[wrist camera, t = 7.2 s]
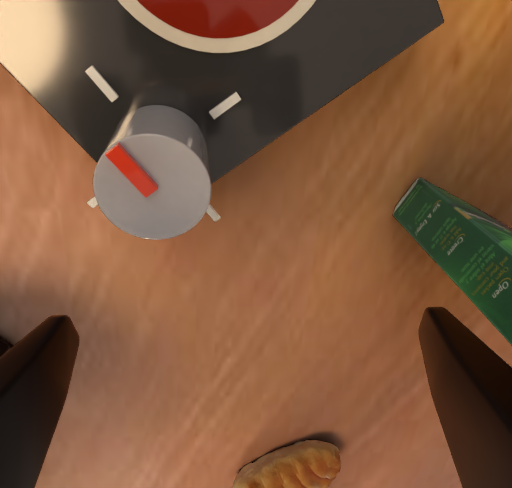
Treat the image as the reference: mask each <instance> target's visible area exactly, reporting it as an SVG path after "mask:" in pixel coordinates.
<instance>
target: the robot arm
mask: <svg viewBox="0 0 512 488" xmlns="http://www.w3.org/2000/svg"><path fill="white" fill-rule="evenodd" d="M419 340H420V345H421V349H422V354H423V358H424V363H425V368H426V372H427V377H428V382H429V386H430V390H431V395H432V398H433V401H434V405H435V408H436V411H437V413H438V416H439V419H440V422H441V425H442V428H443V431H444V434H445V437H446V440H447V443H448V446H449V449H450V452H451V455H452V458H453V461H454V463H455V466H456V469H457V472H458V475H459V478H460V481H461V484H462V487H463V488H512V367H510V366H509V365H508V364H507V363H506V362H505V361H504V360H503V359H501V358H500V357H499V356H498V355H497V354H496V353H495V352H494V351H493V350H491V349H490V348H489V347H488V346H487V345H486V344H485V343H484V342H482V341H481V340H480V339H479V338H478V337H477V336H476V335H475V334H473V333H472V332H471V331H470V330H469V329H468V328H467V327H466V326H464V325H463V324H462V323H461V322H460V321H459V320H458V319H457V318H456V317H454V316H453V315H452V314H451V313H450V312H449V311H448V310H447V309H445V308H443V307H428V308H426V309H425V311H424V314H423V317H422V320H421V324H420V327H419ZM78 347H79V335H78V332H77V330H76V329H75V327H74V325H73V323H72V321H71V319H70V317H69V316H67V315H52V316H50V317H48V318H47V319H46V320H45V321H43V322H42V323H41V324H40V325H38V326H37V327H36V328H35V329H34V330H32V331H31V332H30V333H29V334H28V335H26V336H25V337H24V338H23V339H21V340H20V341H19V342H18V343H17V344H15V345H13V344H11V343H10V342H8V341H7V340H5V339H3V338H2V337H0V488H35V485H36V482H37V479H38V477H39V474H40V471H41V468H42V465H43V463H44V460H45V457H46V454H47V451H48V448H49V446H50V443H51V440H52V437H53V434H54V432H55V429H56V426H57V423H58V420H59V417H60V415H61V412H62V409H63V406H64V403H65V400H66V396H67V393H68V389H69V385H70V380H71V376H72V372H73V368H74V364H75V359H76V355H77V351H78Z"/></svg>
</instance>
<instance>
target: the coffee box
mask: <svg viewBox="0 0 512 488" xmlns="http://www.w3.org/2000/svg"><path fill="white" fill-rule="evenodd" d="M393 216H394V217H395V219H396V220H397V221H398V222H399V223H400V224H401V225H402V226H403V227H404V228H405V229H406V230H407V231H408V233H409V234H410V235H411V236H412V237H413V238H414V239H415V240H416V241H417V242H418V244H419V245H420V246H421V247H422V248H423V249H424V250H425V251H426V252H427V253H428V255H429V256H430V257H431V258H432V259H433V260H434V261H435V262H436V263H437V264H438V265H439V266H440V267H441V268H442V270H443V271H444V272H445V273H446V274H447V275H448V276H449V277H450V278H451V279H452V280H453V281H454V282H455V284H456V285H457V286H458V287H459V288H460V289H461V290H462V291H463V292H464V293H465V294H466V295H467V296H468V298H469V299H470V300H471V301H472V302H473V303H474V304H475V305H476V306H477V308H478V309H479V310H480V311H481V312H482V313H483V314H484V315H485V316H486V317H487V319H488V320H489V321H490V322H491V323H492V324H493V325H494V326H495V327H496V329H497V330H498V331H499V332H500V333H501V334H502V335H503V336H504V337H505V338H506V340H507V341H508V342H509V343H510V344H511V345H512V229H511V228H510V227H508V226H507V225H505V224H503V223H501V222H500V221H498V220H496V219H495V218H493V217H492V216H490V215H488V214H486V213H485V212H483V211H481V210H479V209H477V208H475V207H474V206H472V205H470V204H468V203H466V202H465V201H463V200H461V199H459V198H457V197H456V196H454V195H452V194H450V193H448V192H447V191H445V190H444V189H442V188H440V187H437V186H435V185H433V184H432V183H430V182H428V181H426V180H424V179H423V178H418V179H417V180H416V181H415V182H414V183H413V185H412V186H411V187H410V189H409V190H408V191H407V192H406V194H405V195H404V196H403V198H402V199H401V200H400V201H399V203H398V204H397V206H396V207H395V211H394V213H393Z"/></svg>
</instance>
